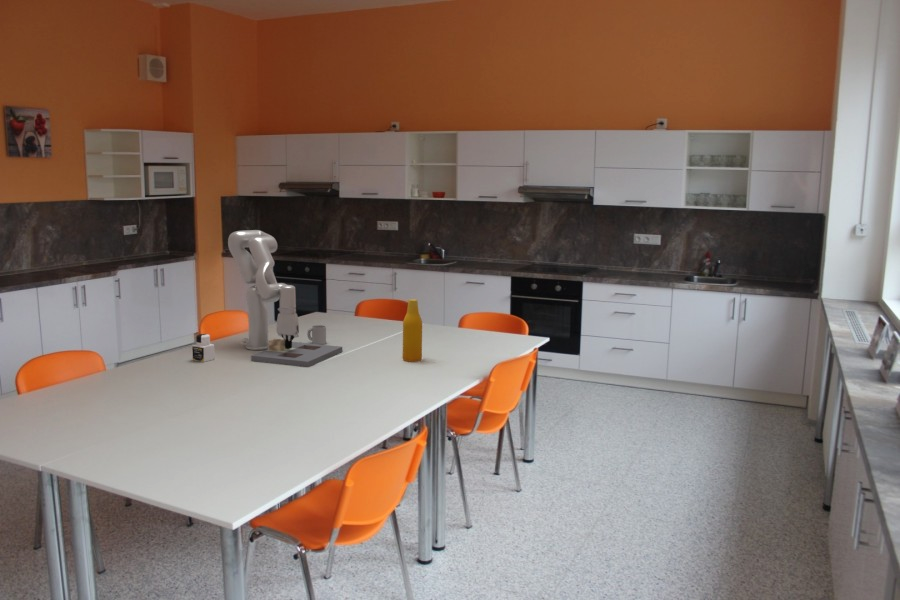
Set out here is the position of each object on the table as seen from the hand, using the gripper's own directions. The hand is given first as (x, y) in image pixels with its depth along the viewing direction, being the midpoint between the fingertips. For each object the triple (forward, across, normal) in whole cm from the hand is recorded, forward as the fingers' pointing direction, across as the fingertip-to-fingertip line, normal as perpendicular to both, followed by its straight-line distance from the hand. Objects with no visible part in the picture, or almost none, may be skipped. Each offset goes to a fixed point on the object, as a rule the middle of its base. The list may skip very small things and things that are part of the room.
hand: (288, 348), depth 371 cm
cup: (+4, -1, +29) cm, 29 cm away
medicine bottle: (+3, -31, -24) cm, 39 cm away
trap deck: (+3, +5, 0) cm, 6 cm away
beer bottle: (+4, +58, +15) cm, 60 cm away
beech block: (+1, -6, -1) cm, 6 cm away
